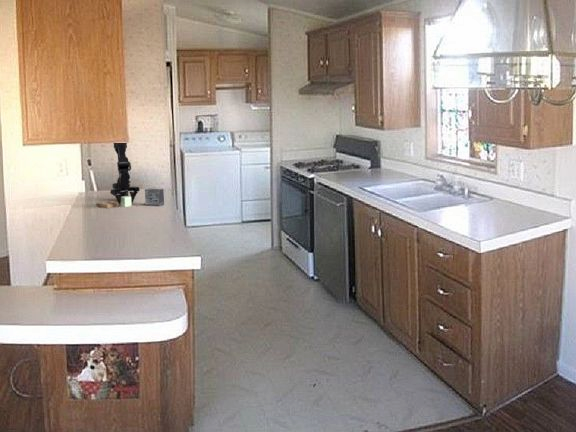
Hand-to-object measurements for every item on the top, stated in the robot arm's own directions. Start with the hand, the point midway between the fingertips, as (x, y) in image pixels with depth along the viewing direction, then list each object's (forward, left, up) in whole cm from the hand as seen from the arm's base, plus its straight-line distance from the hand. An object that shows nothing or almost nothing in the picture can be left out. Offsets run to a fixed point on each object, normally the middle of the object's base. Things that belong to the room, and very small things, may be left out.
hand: (125, 203), depth 434 cm
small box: (-13, +13, -2) cm, 18 cm away
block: (0, 0, -2) cm, 2 cm away
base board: (+6, -9, -1) cm, 11 cm away
